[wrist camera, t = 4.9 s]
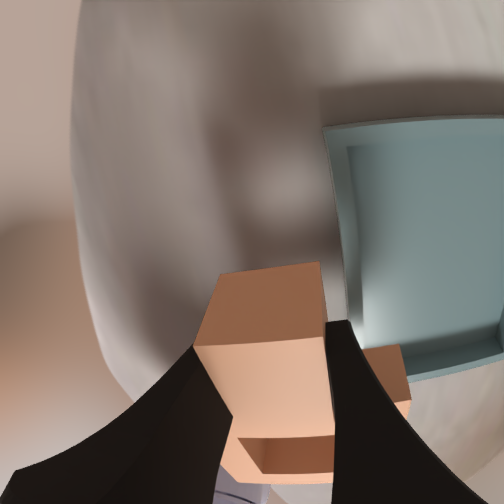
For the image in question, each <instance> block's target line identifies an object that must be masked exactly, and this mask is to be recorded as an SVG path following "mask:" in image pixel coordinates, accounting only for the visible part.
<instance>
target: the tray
mask: <svg viewBox="0 0 504 504" xmlns="http://www.w3.org/2000/svg"><path fill="white" fill-rule="evenodd" d="M322 131H323V136H324V141H325V146H326V152H327V157H328V163H329V168H330V174H331V180H332V187H333V193H334V200H335V206H336V213H337V220H338V228H339V236H340V244H341V252H342V261H343V270H344V280H345V291H346V302H347V315H348V321H350V322H351V325H352V328H353V331H354V334H355V336H356V339H357V341H358V343H359V345H360V347H361V349H368V348H375V347H381V346H387V345H393V344H399V346H400V350H401V354H402V358H403V362H404V367H405V371H406V375H407V380H408V383H411V382H416V381H421V380H426V379H431V378H435V377H440V376H444V375H449V374H453V373H457V372H461V371H465V370H469V369H472V368H476V367H480V366H483V365H487V364H490V363H494V362H497V361H500V360H503V359H504V115H441V116H422V117H408V118H396V119H385V120H375V121H366V122H358V123H350V124H342V125H335V126H328V127H322Z"/></svg>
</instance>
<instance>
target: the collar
mask: <svg viewBox="0 0 504 504" xmlns="http://www.w3.org/2000/svg"><path fill="white" fill-rule="evenodd" d="M325 322H328V317H327V309H326V302H325V295H324V289H323V282H322V276H321V269H320V263H319V261H315V262H308V263H301V264H294V265H286V266H279V267H272V268H264V269H257V270H249V271H242V272H234V273H227V274H220V277H219V279H218V282H217V284H216V287H215V289H214V292H213V294H212V297H211V300H210V302H209V305H208V307H207V310H206V313H205V315H204V318H203V320H202V323H201V326H200V328H199V331H198V334H197V336H196V339H195V341H194V344H193V348H194V349H195V351H196V353H197V355H198V357H199V359H200V361H201V362H202V364H203V365H204V367H205V369H206V371H207V373H208V374H209V376H210V378H211V380H212V382H213V383H214V385H215V387H216V388H217V390H218V392H219V394H220V395H221V397H222V399H223V400H224V402H225V404H226V405H227V407H228V409H229V410H230V412H231V414H232V415H233V420H232V424H231V428H230V431H229V435H228V438H227V442H226V445H225V449H224V452H223V456H222V459H221V462H220V464H221V466H222V467H223V468H224V469H225V470H226V471H227V472H228V473H229V474H230V475H231V476H232V477H233V478H234V479H235V480H236V481H237V482H240V483H257V484H317V483H333V470H334V442H335V421H334V412H333V404H332V394H331V385H330V377H329V368H328V360H327V352H326V345H325ZM362 351H363V353H364V355H365V357H366V359H367V361H368V363H369V364H370V366H371V368H372V369H373V371H374V373H375V375H376V376H377V378H378V380H379V381H380V383H381V385H382V386H383V388H384V389H385V391H386V392H387V394H388V395H389V397H390V398H391V400H392V401H393V403H394V404H395V406H396V407H397V408H398V410H399V411H400V412H401V414H402V415H403V417H404V418H405V419H407V415H408V412H409V408H410V404H411V400H412V399H411V394H410V389H409V385H408V380H407V375H406V371H405V367H404V362H403V358H402V354H401V350H400V346H399V344H393V345H387V346H381V347H375V348H368V349H362Z"/></svg>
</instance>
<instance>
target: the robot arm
mask: <svg viewBox="0 0 504 504" xmlns="http://www.w3.org/2000/svg"><path fill="white" fill-rule="evenodd" d="M193 344H194V343H193ZM193 344H192V345H191V346H190V348H189V349H188V350H187V351H186V352H185V353H184V354H183V355H182V356H181V357H180V358H179V359H178V361H177V362H176V363H175V364H174V365H173V366H172V367H171V368H170V369H169V370H168V371H167V372H166V373H165V374H164V375H163V376H162V377H161V378H160V379H159V380H158V381H157V382H156V383H155V384H154V385H153V386H152V387H151V388H150V389H149V390H148V391H147V392H146V393H145V394H144V395H143V396H142V397H140V398H139V399H138V400H137V401H136V402H135V403H134V404H133V405H132V406H131V407H129V408H128V409H127V410H126V411H125V412H124V413H122V414H121V415H120V416H119V417H117V418H116V419H114V420H113V421H112V422H110V423H109V424H108V425H106V426H105V427H104V428H102V429H101V430H99V431H97V432H96V433H94V434H93V435H91V436H90V437H88V438H86V439H85V440H83V441H82V442H80V443H79V444H77V445H75V446H73V447H71V448H69V449H68V450H66V451H64V452H62V453H59V454H58V455H55V456H53V457H51V458H49V459H46V460H44V461H42V462H39V463H36V464H33V465H30V466H28V467H25V468H22V469H19V470H16V471H15V472H14V473H13V475H12V477H11V479H10V481H9V482H8V484H7V486H6V488H5V490H4V491H3V493H2V495H1V497H0V504H265V503H266V502H267V500H268V497H269V492H270V485H271V484H257V483H240V482H237V481H236V480H235V479H234V478H233V477H232V476H231V475H230V474H229V473H228V472H227V471H226V470H225V469H224V468H223V467H222V466H221V464H220V462H221V459H222V456H223V452H224V449H225V445H226V442H227V438H228V435H229V431H230V428H231V424H232V420H233V415H232V414H231V412H230V410H229V409H228V407H227V405H226V404H225V402H224V400H223V399H222V397H221V395H220V394H219V392H218V390H217V388H216V387H215V385H214V383H213V382H212V380H211V378H210V376H209V374H208V373H207V371H206V369H205V367H204V365H203V364H202V362H201V361H200V359H199V357H198V355H197V353H196V351H195V349H194V348H193ZM325 345H326V352H327V360H328V368H329V377H330V385H331V394H332V404H333V412H334V421H335V442H334V470H333V488H332V502H331V504H488V503H487V502H486V501H484V500H483V499H482V498H481V497H479V496H478V495H477V494H476V493H474V491H472V490H471V489H470V488H469V487H468V486H467V485H466V484H465V483H464V482H462V481H461V480H460V479H459V478H458V477H457V476H456V475H455V474H454V473H453V472H452V471H451V470H450V469H449V468H448V467H447V466H446V465H445V464H444V463H443V462H442V461H441V460H440V459H439V458H438V457H437V455H436V454H435V453H434V452H433V451H432V450H431V449H430V448H429V447H428V446H427V445H426V444H425V442H424V441H423V440H422V439H421V438H420V437H419V435H418V434H417V433H416V432H415V431H414V429H413V428H412V427H411V426H410V424H409V423H408V422H407V420H406V419H405V418H404V417H403V415H402V414H401V412H400V411H399V410H398V408H397V407H396V406H395V404H394V403H393V401H392V400H391V398H390V397H389V395H388V394H387V392H386V391H385V389H384V388H383V386H382V385H381V383H380V381H379V380H378V378H377V376H376V375H375V373H374V371H373V369H372V368H371V366H370V364H369V363H368V361H367V359H366V357H365V355H364V353H363V351H362V349H361V347H360V345H359V343H358V341H357V339H356V336H355V334H354V331H353V328H352V325H351V322H350V321H348V320H339V321H331V322H325Z"/></svg>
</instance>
